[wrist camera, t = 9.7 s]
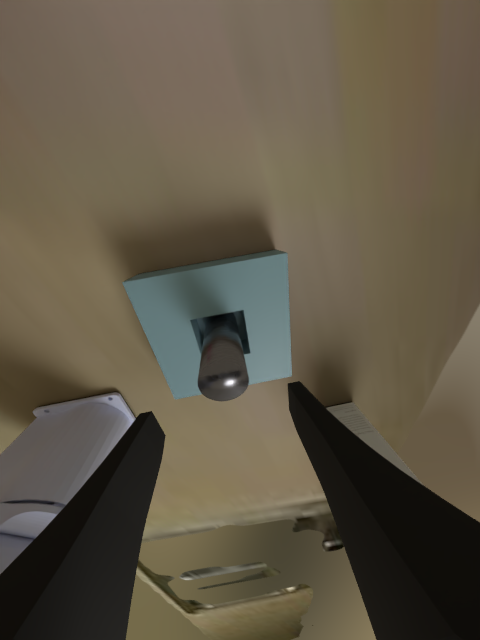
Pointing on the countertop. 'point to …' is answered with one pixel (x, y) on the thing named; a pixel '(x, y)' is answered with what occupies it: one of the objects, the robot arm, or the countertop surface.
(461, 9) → the countertop surface
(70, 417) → the robot arm
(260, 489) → the countertop surface
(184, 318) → the socket block
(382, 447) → the skincare box
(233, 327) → the metal peg
